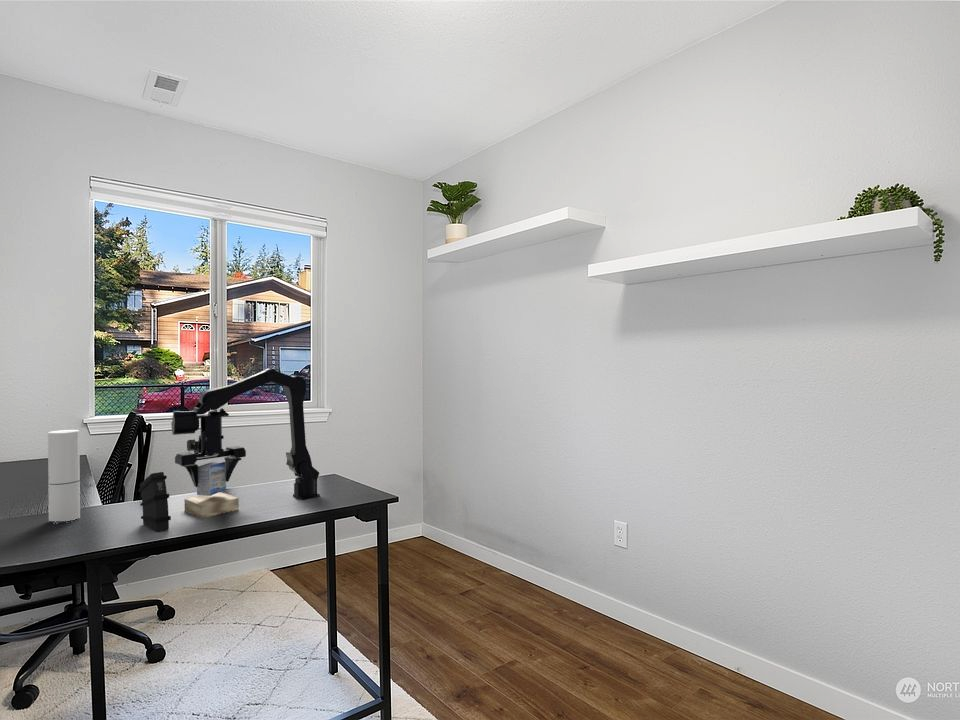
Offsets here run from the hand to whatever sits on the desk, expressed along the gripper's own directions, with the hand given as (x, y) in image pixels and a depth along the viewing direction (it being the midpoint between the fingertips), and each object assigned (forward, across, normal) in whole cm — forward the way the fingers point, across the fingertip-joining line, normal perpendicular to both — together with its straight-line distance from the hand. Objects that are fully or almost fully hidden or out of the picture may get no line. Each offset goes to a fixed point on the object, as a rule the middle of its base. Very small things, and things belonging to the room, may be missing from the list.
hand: (211, 484), depth 170 cm
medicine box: (+3, 0, 0) cm, 3 cm away
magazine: (+8, +17, +4) cm, 19 cm away
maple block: (+8, 0, 0) cm, 8 cm away
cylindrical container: (+8, +32, -21) cm, 39 cm away
